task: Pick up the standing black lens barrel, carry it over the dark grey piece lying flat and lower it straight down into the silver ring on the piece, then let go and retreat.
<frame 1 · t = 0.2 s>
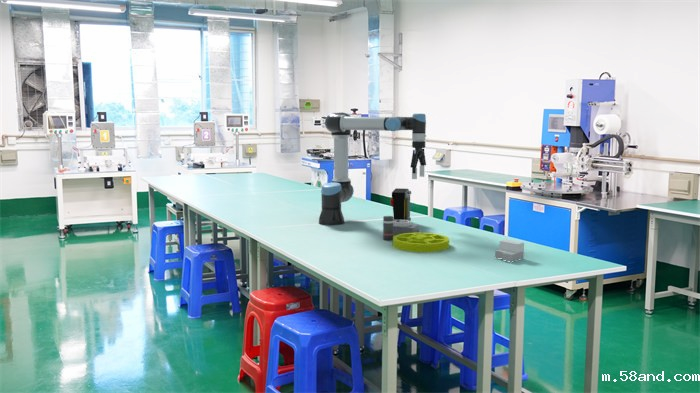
hand: (418, 177, 361), 28 cm above the workbench, tool pointing down, fingers open, 13 cm apart
pulley: (420, 246, 313), on the workbench
grey piece: (401, 234, 341), on the workbench
electrical component: (400, 224, 370), on the workbench
foam block: (512, 262, 283), on the workbench
lens: (388, 239, 328), on the workbench
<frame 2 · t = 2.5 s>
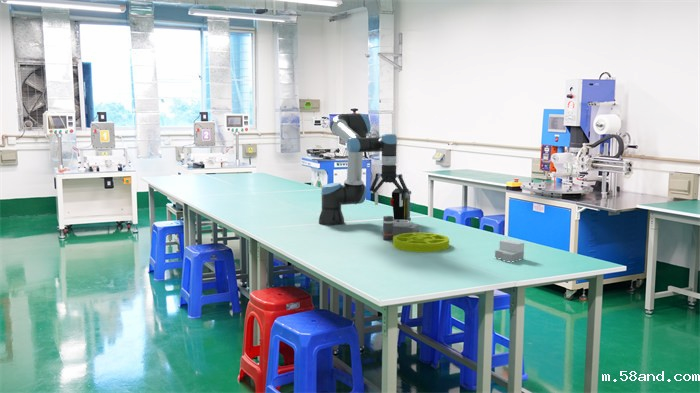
hand: (388, 205, 325), 18 cm above the workbench, tool pointing down, fingers open, 13 cm apart
nothing on the workbench moved.
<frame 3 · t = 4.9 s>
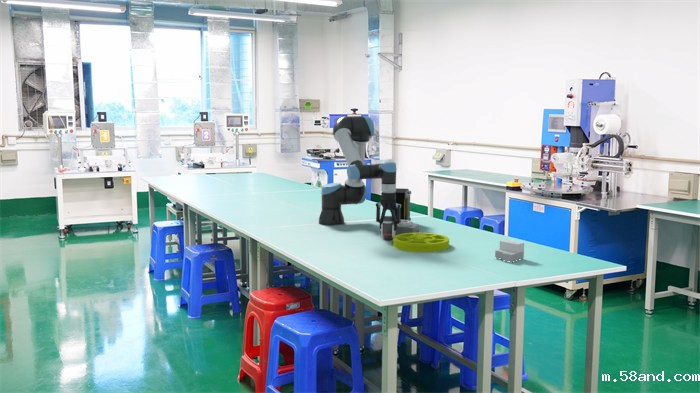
hand: (388, 236, 327), 2 cm above the workbench, tool pointing down, fingers closed on lens, 5 cm apart
lens: (388, 239, 327), on the workbench, touching gripper
everything else where it was.
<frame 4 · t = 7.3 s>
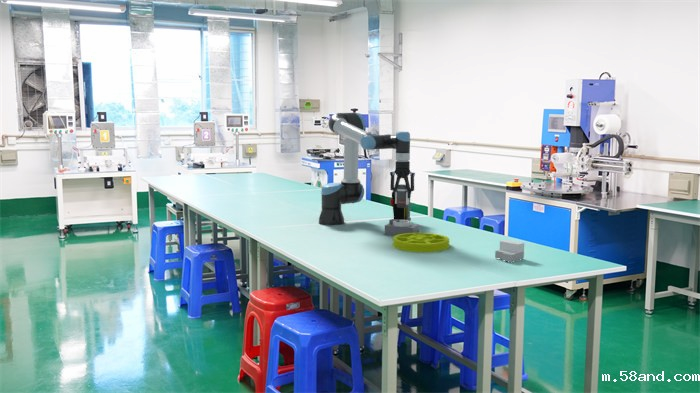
hand: (402, 203, 339), 17 cm above the workbench, tool pointing down, fingers closed on lens, 5 cm apart
lens: (401, 207, 339), point 15 cm above the workbench, touching gripper
everything else where it was.
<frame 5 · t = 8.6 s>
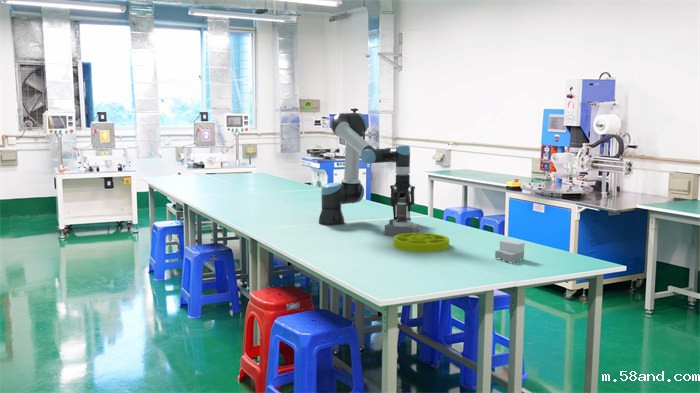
hand: (402, 217, 340), 9 cm above the workbench, tool pointing down, fingers closed on lens, 5 cm apart
lens: (402, 220, 340), point 8 cm above the workbench, touching gripper
everything else where it was.
when the fingers open (8 cm above the workbench, at t = 9.6 s): lens drops 1 cm, resting on grey piece.
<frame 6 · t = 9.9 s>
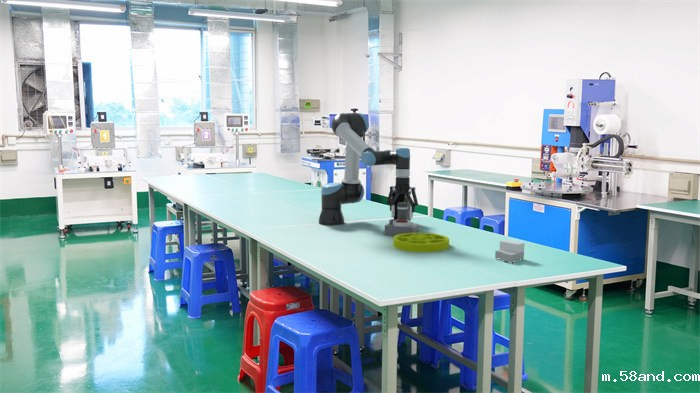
hand: (402, 217, 340), 9 cm above the workbench, tool pointing down, fingers open, 10 cm apart
lens: (402, 225, 340), point 5 cm above the workbench, touching grey piece
everything else where it was.
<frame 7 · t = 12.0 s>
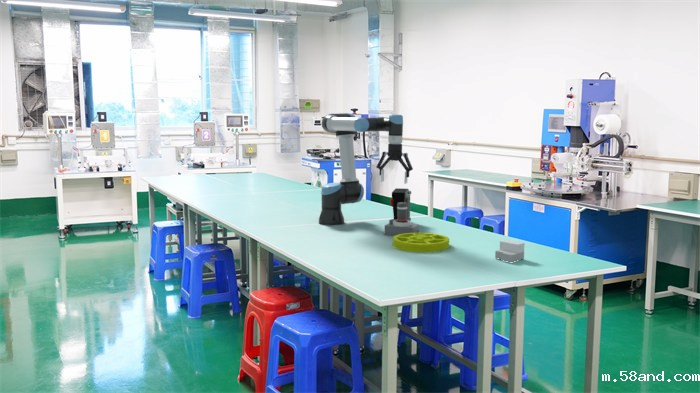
hand: (394, 182, 343), 28 cm above the workbench, tool pointing down, fingers open, 13 cm apart
nothing on the workbench moved.
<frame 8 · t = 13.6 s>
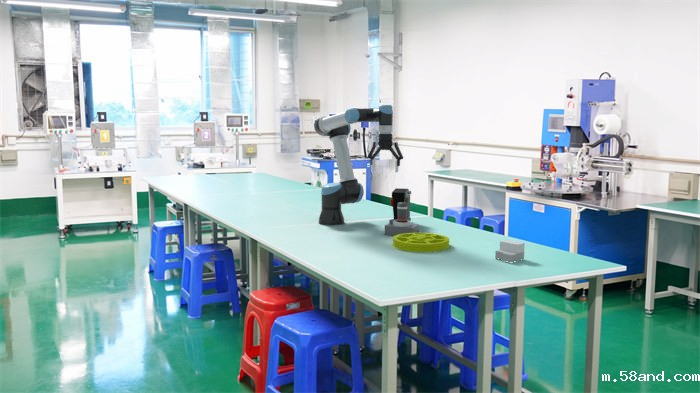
hand: (385, 171, 349), 33 cm above the workbench, tool pointing down, fingers open, 13 cm apart
at the end: lens 0.2 cm off-centre on the grey piece, point 5.1 cm above the grey piece's base; lens tilted 1°; the gripper is holding nothing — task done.
